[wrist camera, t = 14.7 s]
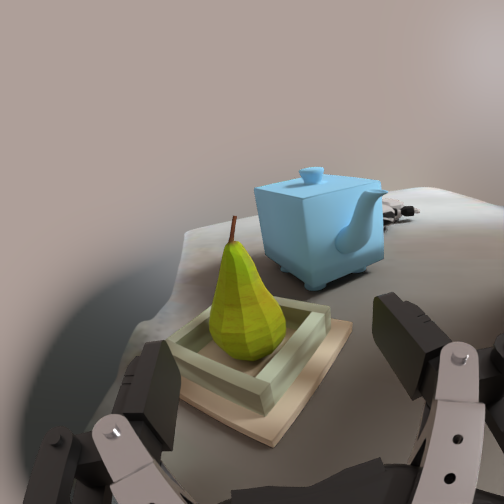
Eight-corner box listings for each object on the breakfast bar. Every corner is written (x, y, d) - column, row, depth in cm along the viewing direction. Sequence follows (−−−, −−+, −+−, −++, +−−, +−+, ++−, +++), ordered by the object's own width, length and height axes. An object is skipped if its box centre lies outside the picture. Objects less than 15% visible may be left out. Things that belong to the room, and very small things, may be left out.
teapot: (260, 260, 46) (244, 173, 41) (318, 241, 49) (308, 161, 44) (347, 327, 27) (339, 183, 22) (418, 287, 30) (419, 167, 25)
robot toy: (380, 214, 61) (330, 226, 55) (379, 194, 59) (329, 203, 54) (423, 224, 50) (376, 240, 44) (424, 202, 48) (377, 213, 43)
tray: (238, 305, 34) (232, 279, 33) (352, 330, 26) (352, 299, 25) (148, 377, 24) (134, 349, 23) (273, 448, 16) (266, 421, 15)
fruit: (204, 362, 24) (162, 233, 20) (243, 324, 29) (216, 207, 24) (266, 384, 20) (234, 234, 16) (301, 337, 25) (283, 205, 21)
